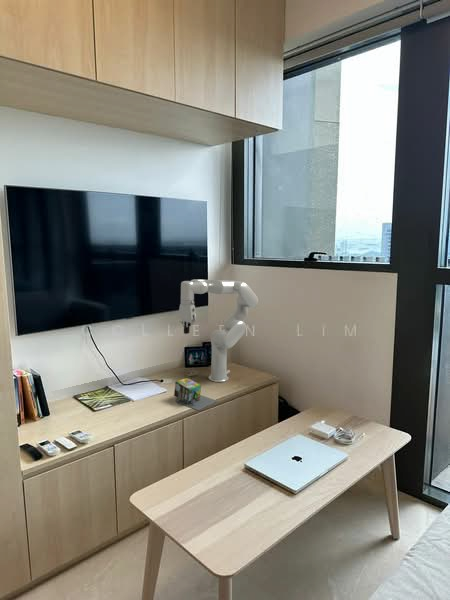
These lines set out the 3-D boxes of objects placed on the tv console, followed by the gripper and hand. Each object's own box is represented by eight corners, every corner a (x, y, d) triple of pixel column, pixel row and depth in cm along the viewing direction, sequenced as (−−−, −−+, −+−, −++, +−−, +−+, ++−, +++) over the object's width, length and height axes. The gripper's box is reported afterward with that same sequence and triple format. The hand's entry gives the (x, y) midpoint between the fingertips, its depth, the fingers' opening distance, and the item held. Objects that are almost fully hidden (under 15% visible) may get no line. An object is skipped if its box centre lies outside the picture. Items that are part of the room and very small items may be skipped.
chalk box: (185, 391, 226) (204, 403, 217) (173, 396, 219) (191, 408, 210) (187, 376, 224) (206, 387, 214) (175, 380, 217) (193, 392, 208)
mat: (195, 393, 228) (195, 391, 228) (217, 401, 219) (217, 399, 219) (176, 402, 215) (176, 400, 215) (198, 410, 206) (198, 408, 206)
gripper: (201, 303, 231) (200, 334, 234) (182, 300, 240) (181, 330, 243) (192, 304, 225) (191, 336, 228) (173, 301, 234) (172, 332, 237)
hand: (186, 333), depth 235 cm, fingers closed
